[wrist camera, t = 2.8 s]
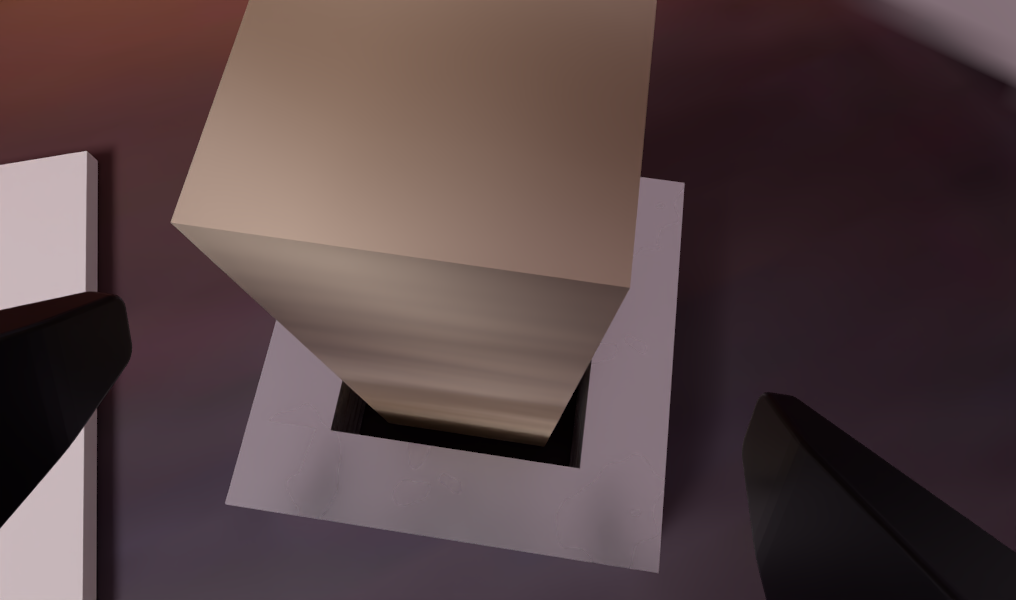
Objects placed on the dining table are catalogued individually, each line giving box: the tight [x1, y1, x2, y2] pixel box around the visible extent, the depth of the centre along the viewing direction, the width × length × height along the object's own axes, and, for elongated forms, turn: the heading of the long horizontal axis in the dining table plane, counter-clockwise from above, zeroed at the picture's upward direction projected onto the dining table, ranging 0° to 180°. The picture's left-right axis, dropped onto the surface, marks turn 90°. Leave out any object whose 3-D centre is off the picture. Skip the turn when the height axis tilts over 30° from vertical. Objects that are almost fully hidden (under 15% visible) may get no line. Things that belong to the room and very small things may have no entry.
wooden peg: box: [171, 0, 657, 447], centre depth 13 cm, size 4×4×13 cm
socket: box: [225, 177, 685, 573], centre depth 18 cm, size 10×10×3 cm
